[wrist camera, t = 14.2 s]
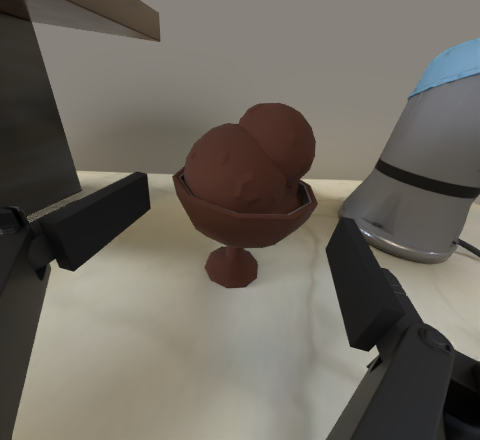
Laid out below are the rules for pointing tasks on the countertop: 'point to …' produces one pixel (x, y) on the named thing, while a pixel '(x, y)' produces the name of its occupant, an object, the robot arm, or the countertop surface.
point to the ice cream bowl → (248, 187)
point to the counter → (47, 93)
